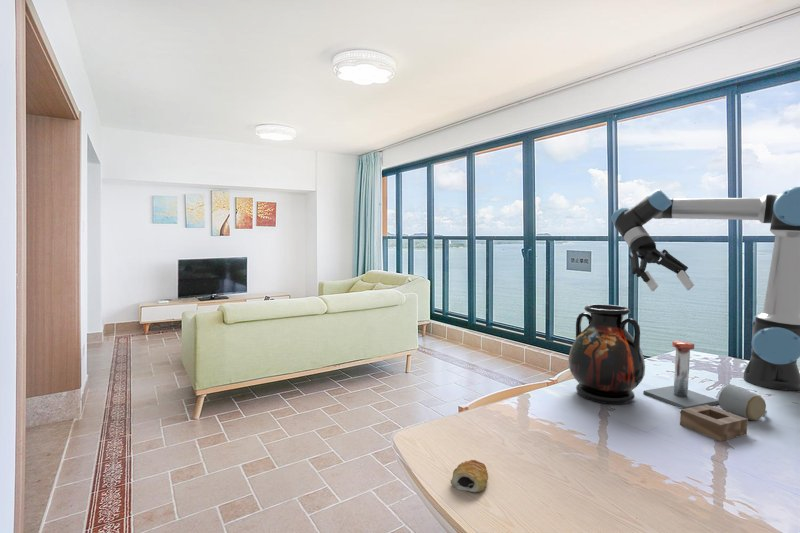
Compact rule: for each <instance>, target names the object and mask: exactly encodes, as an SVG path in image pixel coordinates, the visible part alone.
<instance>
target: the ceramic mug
mask: <svg viewBox="0 0 800 533" xmlns="http://www.w3.org/2000/svg"><path fill="white" fill-rule="evenodd" d="M718 400H719V404H718V405H719V407H720V409H721V410H724V411H726V412H729V413H732V414H735V415H738V416H741V417H743V418H746V419H748V420H749V421H757V420H760V419H761V418H762V417H763V416H764V417H765V416H766V415H767V413H768V411H767V409H766V408H767V404H766V401H765V399H764V398H763V397H762V396H760V395H758V394H756V393H754V392H752V391H750V390H747V389H744V388H742V387H739V386H737V385H735V384H728V385H725V386H724V387H723V388H722V389H721V391H720V392H719V396H718Z"/></svg>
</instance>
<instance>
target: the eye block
mask: <svg viewBox="0 0 800 533" xmlns="http://www.w3.org/2000/svg"><path fill="white" fill-rule="evenodd" d="M679 414H680V417H679V418H680V420H679V425H680V426H682V427H685V428H687V429H690V430H692V431H695V432H696V433H700V434H702V435H705V436H706V437H709V438H711V439H714V440H717V441H719V442H721V441H727V440H730V439H735V438H737V437H742V436H745V435H748V420H749V419H746V418H743V417H741V416H738V415H735V414H732V413H730V412H727V411H725V410H723V409H722V408H717V407H715V406H713V405H710V406H709V405H702V406H697V407H691V408H686V409H682V408H680V413H679Z"/></svg>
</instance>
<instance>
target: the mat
mask: <svg viewBox="0 0 800 533" xmlns="http://www.w3.org/2000/svg"><path fill="white" fill-rule="evenodd" d="M643 394H644V395H646V396H648V397H651V398H654V399H656V400H659V401H662V402H664V403H666V404H670V405H671V406H672V405H673V406H675V407H677V408H679V409H686V408H691V407H697V406H702V405H709V406H715V405H719V399H717V398H714V397H711V396H707V395H705V394H703V393H700V392H695V391H693V390H690V389H688V396H687V397H679V396H675V395H674V385H670V386H669V385H668V386H663V387H656V388H651V389H644V390H643Z"/></svg>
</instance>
